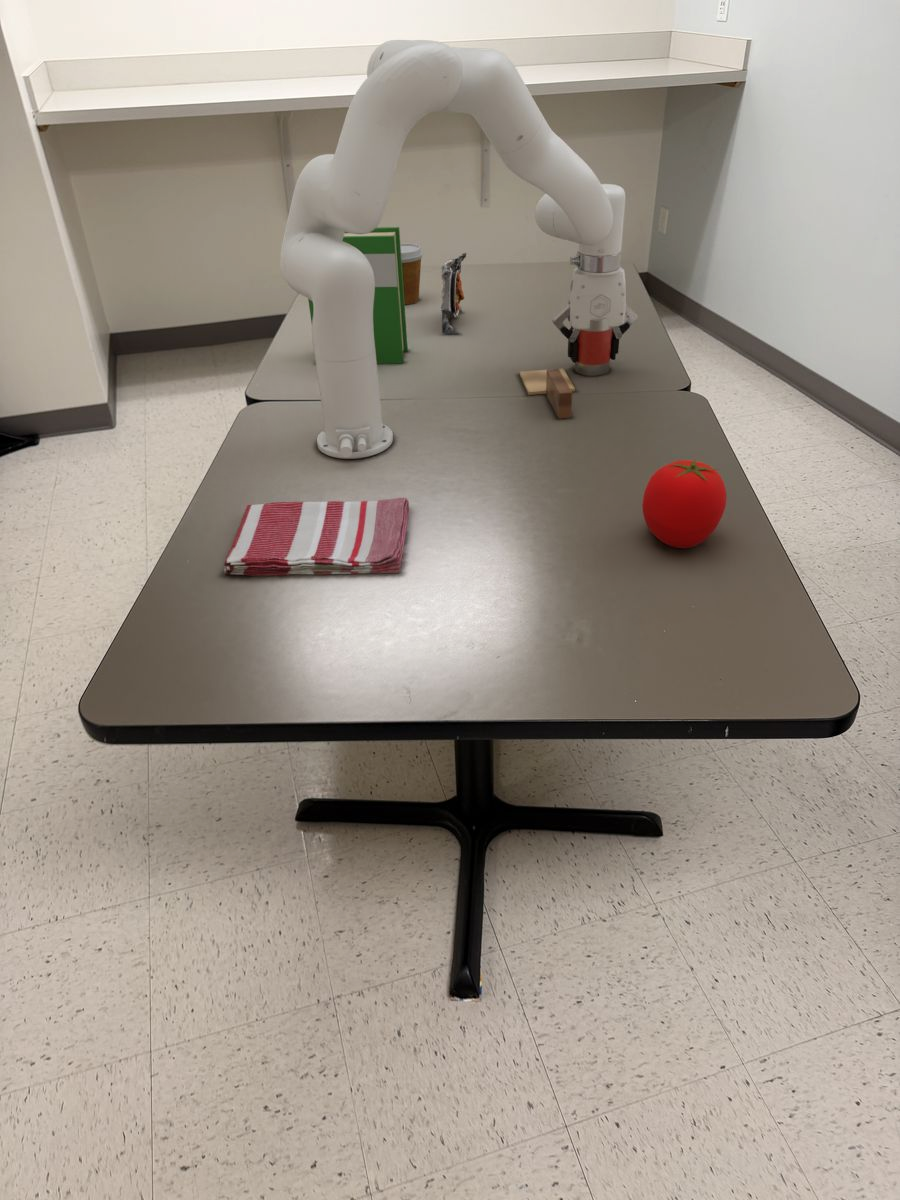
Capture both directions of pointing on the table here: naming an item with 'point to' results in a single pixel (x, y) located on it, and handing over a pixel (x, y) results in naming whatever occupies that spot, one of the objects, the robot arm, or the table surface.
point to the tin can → (594, 348)
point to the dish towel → (320, 538)
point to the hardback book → (384, 290)
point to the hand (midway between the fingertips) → (592, 358)
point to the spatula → (551, 388)
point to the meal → (451, 292)
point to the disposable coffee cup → (411, 271)
